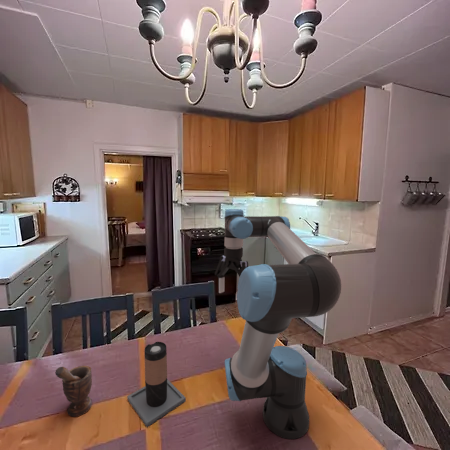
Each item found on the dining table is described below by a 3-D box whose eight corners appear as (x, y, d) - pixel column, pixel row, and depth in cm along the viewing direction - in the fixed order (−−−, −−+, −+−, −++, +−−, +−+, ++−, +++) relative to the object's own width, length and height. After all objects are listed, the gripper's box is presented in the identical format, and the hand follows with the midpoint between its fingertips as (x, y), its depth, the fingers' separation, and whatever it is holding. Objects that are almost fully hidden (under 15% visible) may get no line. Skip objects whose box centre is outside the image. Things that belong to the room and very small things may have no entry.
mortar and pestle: (84, 425, 81) (80, 368, 79) (55, 429, 80) (50, 371, 77) (96, 397, 93) (93, 346, 90) (71, 400, 91) (67, 348, 89)
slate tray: (185, 401, 91) (185, 397, 91) (146, 427, 81) (146, 423, 81) (164, 379, 102) (164, 375, 102) (127, 399, 92) (127, 396, 91)
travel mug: (161, 409, 87) (160, 355, 84) (141, 405, 88) (139, 352, 86) (171, 392, 94) (170, 342, 92) (152, 389, 96) (150, 340, 93)
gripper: (264, 250, 97) (262, 303, 99) (219, 241, 114) (219, 286, 117) (251, 254, 92) (250, 309, 94) (206, 243, 109) (206, 290, 112)
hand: (232, 296), depth 106 cm, fingers open, 13 cm apart
